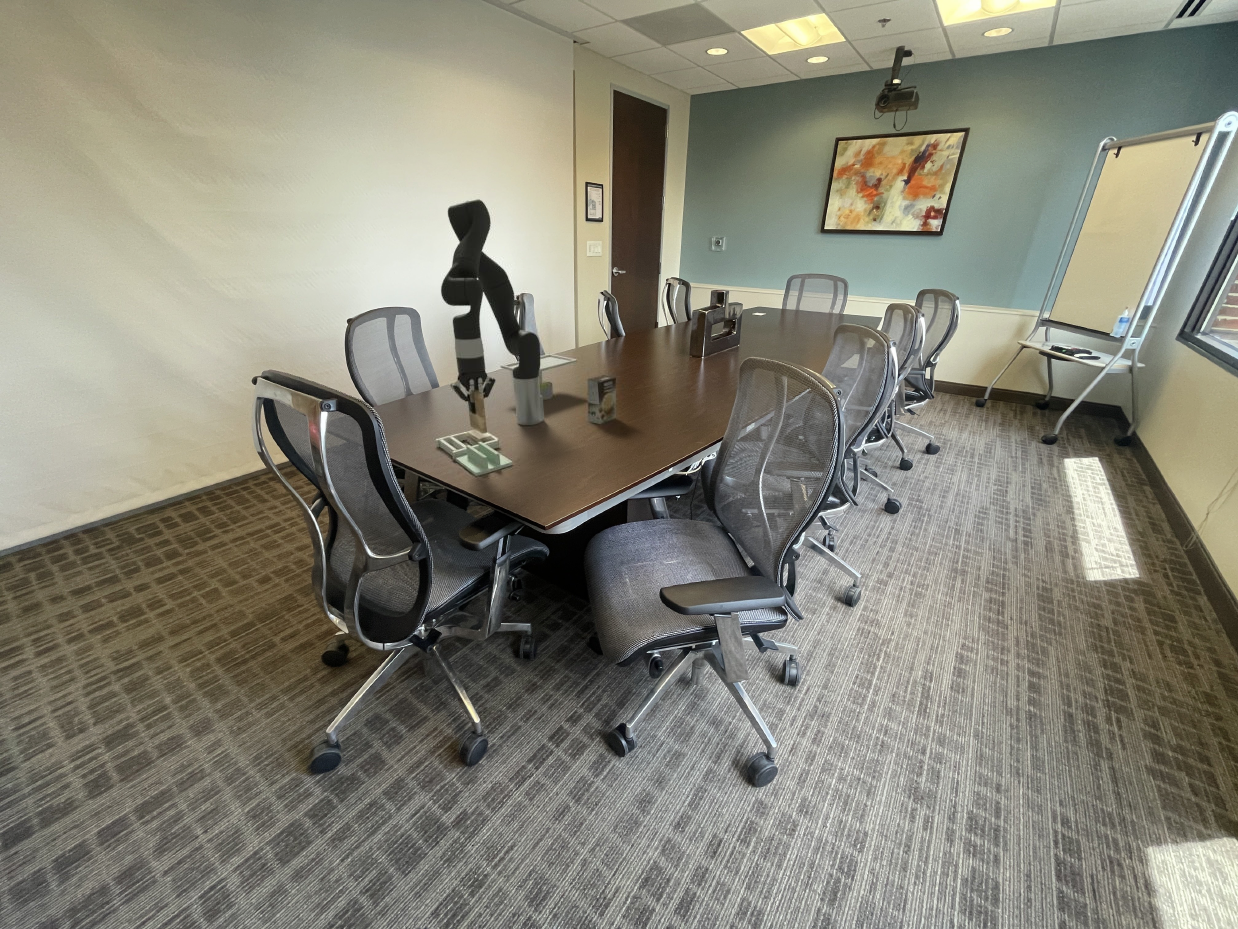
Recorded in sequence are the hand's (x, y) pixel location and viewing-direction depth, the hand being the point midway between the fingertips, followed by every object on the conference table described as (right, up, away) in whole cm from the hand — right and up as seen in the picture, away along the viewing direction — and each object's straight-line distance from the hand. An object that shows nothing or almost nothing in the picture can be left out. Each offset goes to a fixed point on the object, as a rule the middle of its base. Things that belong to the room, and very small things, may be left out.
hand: (476, 412), depth 146 cm
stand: (0, -15, +7) cm, 16 cm away
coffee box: (+35, +2, +42) cm, 55 cm away
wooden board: (0, -5, +2) cm, 5 cm away
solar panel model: (+9, +14, +68) cm, 70 cm away
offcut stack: (-5, -8, +21) cm, 23 cm away
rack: (-8, -9, +18) cm, 22 cm away
